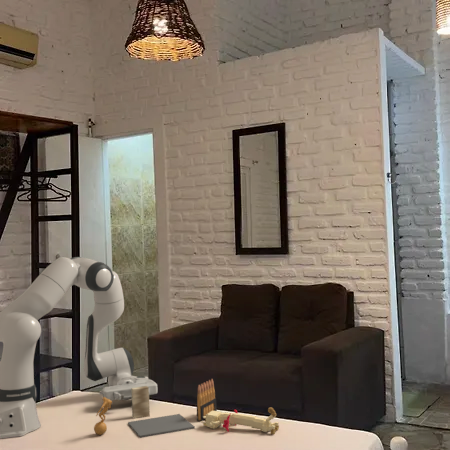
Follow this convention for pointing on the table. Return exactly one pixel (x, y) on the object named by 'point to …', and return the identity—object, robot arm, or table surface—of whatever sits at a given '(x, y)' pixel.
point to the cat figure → (240, 420)
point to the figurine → (101, 426)
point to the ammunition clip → (205, 399)
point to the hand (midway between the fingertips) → (134, 395)
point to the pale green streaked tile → (140, 402)
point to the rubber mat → (160, 425)
